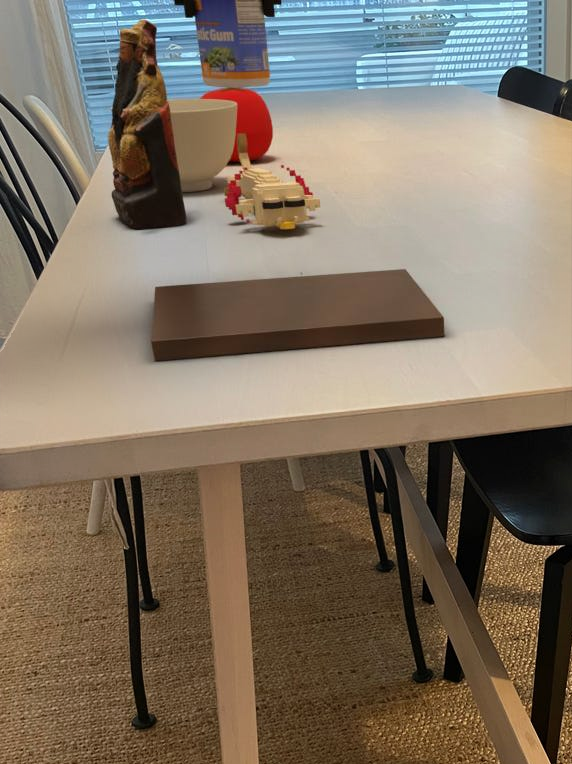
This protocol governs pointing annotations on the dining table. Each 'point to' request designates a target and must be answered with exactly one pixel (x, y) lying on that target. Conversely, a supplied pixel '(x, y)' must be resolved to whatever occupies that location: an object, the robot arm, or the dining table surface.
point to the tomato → (248, 120)
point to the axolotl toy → (267, 194)
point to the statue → (143, 137)
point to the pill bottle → (232, 43)
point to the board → (290, 314)
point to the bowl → (202, 139)
